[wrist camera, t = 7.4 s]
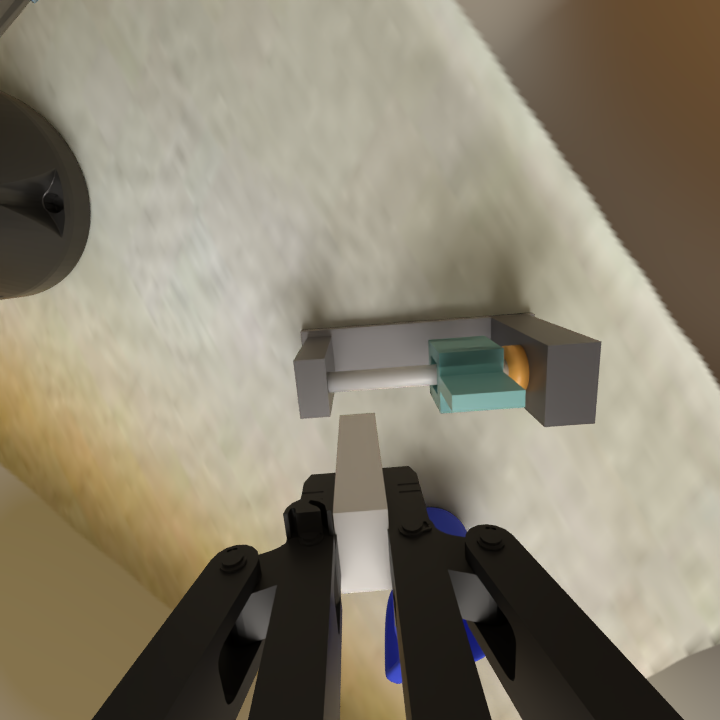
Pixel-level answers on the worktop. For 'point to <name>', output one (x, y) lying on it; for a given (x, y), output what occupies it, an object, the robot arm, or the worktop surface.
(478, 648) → the mug
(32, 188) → the robot arm
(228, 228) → the worktop surface
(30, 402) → the worktop surface
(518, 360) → the grey slider rail stand
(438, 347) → the sleeve
